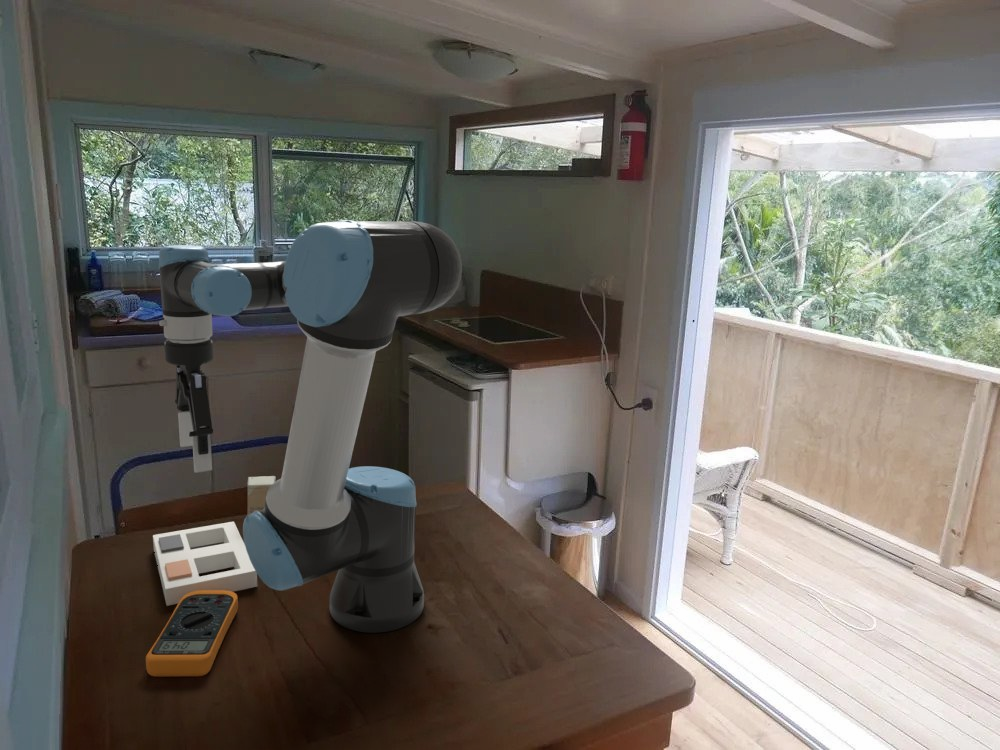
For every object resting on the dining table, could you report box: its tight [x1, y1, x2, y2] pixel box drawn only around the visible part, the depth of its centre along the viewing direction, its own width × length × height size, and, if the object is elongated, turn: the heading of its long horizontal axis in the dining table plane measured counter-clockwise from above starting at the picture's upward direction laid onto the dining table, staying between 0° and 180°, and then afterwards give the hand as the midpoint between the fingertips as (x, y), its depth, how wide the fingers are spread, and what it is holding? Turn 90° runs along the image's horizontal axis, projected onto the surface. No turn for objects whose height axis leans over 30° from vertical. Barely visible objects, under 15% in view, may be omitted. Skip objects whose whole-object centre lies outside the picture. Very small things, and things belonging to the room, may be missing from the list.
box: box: [247, 475, 277, 516], centre depth 141 cm, size 5×4×11 cm
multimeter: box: [145, 590, 239, 678], centre depth 109 cm, size 9×18×3 cm, turn 5°
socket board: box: [152, 521, 258, 607], centre depth 128 cm, size 20×14×4 cm
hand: (195, 457), depth 129 cm, fingers open, 13 cm apart
